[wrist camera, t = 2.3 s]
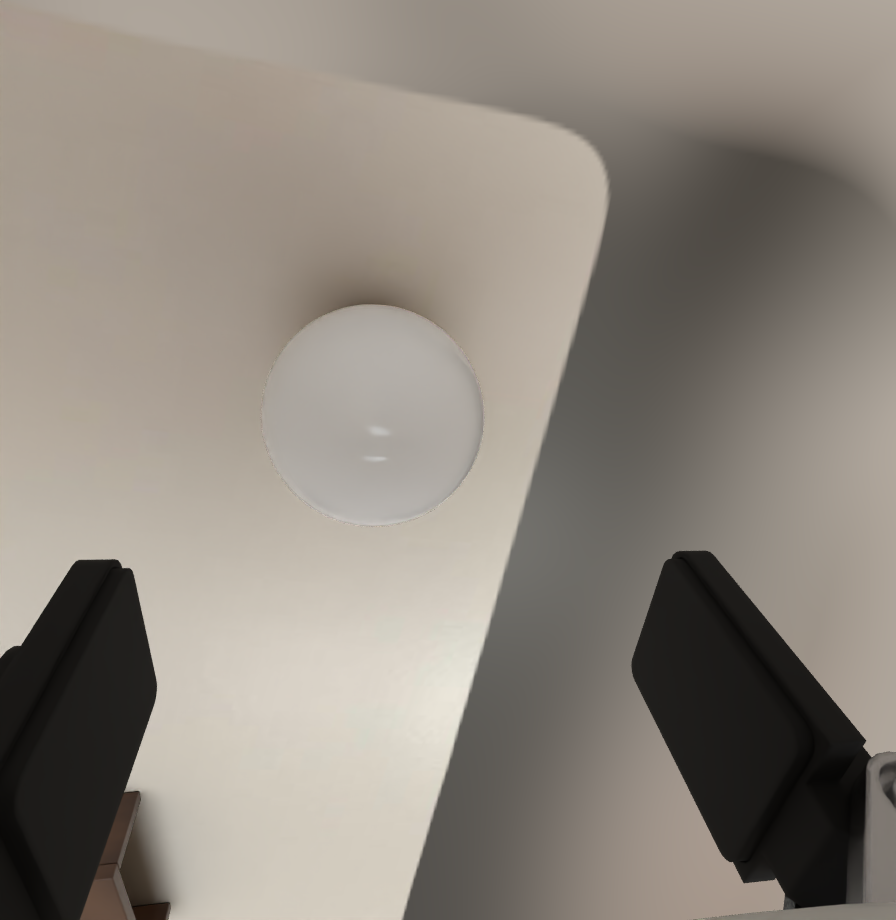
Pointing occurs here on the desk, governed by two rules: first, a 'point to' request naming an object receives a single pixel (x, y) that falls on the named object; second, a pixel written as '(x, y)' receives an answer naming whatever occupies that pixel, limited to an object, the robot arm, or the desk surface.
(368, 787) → the desk surface
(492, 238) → the desk surface
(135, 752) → the robot arm
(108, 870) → the brown wooden stand
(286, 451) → the lightbulb
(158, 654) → the desk surface
